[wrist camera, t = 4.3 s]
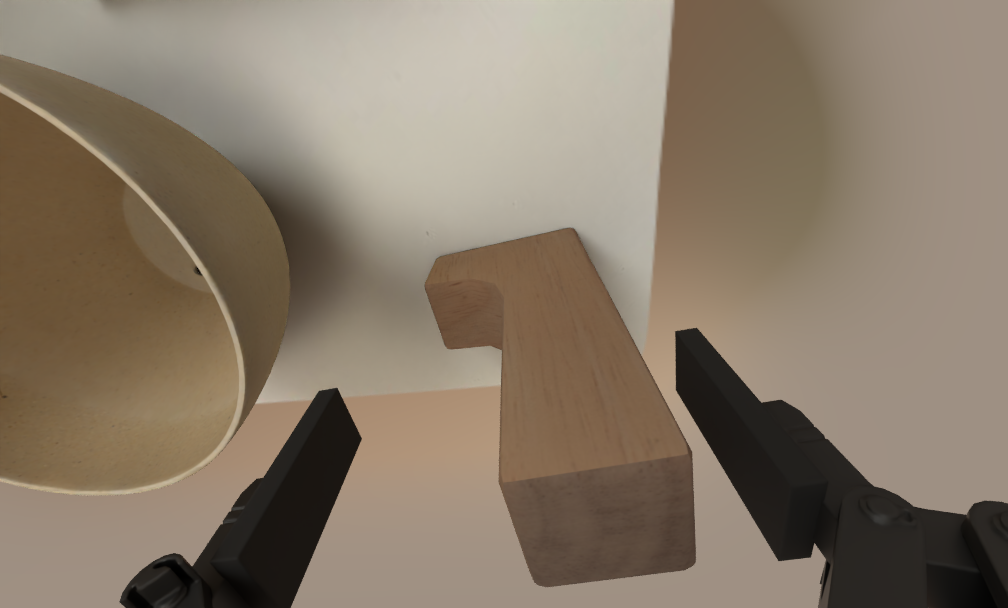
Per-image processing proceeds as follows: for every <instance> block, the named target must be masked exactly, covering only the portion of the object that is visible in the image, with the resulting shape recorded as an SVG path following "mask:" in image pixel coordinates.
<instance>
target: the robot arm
mask: <svg viewBox="0 0 1008 608" xmlns="http://www.w3.org/2000/svg"><path fill="white" fill-rule="evenodd" d="M675 337H676V391H677V393H678V394H679V396H680V398H681V399H682V401H683V403H684V404H685V406H686V407H687V409H688V411H689V413H690V414H691V416H692V418H693V419H694V421H695V423H696V424H697V426H698V427H699V429H700V431H701V433H702V434H703V436H704V438H705V439H706V441H707V443H708V444H709V446H710V447H711V449H712V451H713V453H714V454H715V456H716V458H717V459H718V461H719V463H720V464H721V466H722V467H723V469H724V471H725V473H726V474H727V476H728V478H729V479H730V481H731V483H732V484H733V486H734V488H735V489H736V491H737V492H738V494H739V496H740V498H741V499H742V501H743V502H744V504H745V506H746V507H747V509H748V511H749V512H750V514H751V516H752V518H753V519H754V521H755V523H756V524H757V526H758V528H759V529H760V531H761V533H762V534H763V536H764V538H765V539H766V541H767V543H768V544H769V546H770V548H771V549H772V551H773V553H774V554H775V556H776V558H777V559H778V561H784V560H792V559H801V558H809V557H811V555H812V550H813V546H814V543H815V544H816V546H817V547H818V548H819V550H820V551H821V553H822V554H823V555H824V557H825V558H826V562H825V566H824V570H823V573H822V577H821V581H820V584H822V586H821V593H820V599H819V605H818V608H1008V504H1007V503H1004V502H996V501H982V502H979V503H975V504H973V506H972V507H971V509H970V510H969V512H968V513H967V515H963V514H956V513H949V512H942V511H935V510H928V509H922V508H917V507H913V506H912V505H911V504H910V503H908V502H907V501H906V500H904V499H902V498H901V497H900V496H898V495H896V494H894V493H892V492H890V491H887V490H885V489H882V488H878V487H874V486H873V485H872V484H870V483H869V482H868V481H867V480H866V479H865V478H864V476H863V475H862V474H861V473H860V472H859V471H858V470H857V469H856V468H855V467H854V466H853V465H852V464H851V463H850V462H849V461H848V460H847V459H846V458H845V457H844V456H843V455H842V454H841V453H840V452H839V451H838V450H837V449H836V447H835V446H834V445H833V444H832V443H831V442H830V441H829V440H828V439H825V437H824V435H823V434H822V433H821V432H820V431H819V430H818V429H817V428H816V427H814V426H813V424H812V423H811V422H810V420H809V419H808V418H807V417H805V415H804V414H803V413H802V412H801V411H800V410H798V409H796V408H795V407H793V406H791V405H789V404H788V403H786V402H784V401H783V400H776V401H770V402H763V403H761V402H760V401H759V400H758V398H757V397H756V396H755V395H754V394H753V393H752V391H751V390H750V389H749V388H748V387H747V386H746V384H745V383H744V382H743V381H742V380H741V379H740V377H739V376H738V375H737V374H736V373H735V372H734V371H733V369H732V368H731V367H730V366H729V365H728V364H727V362H726V361H725V360H724V359H723V358H722V357H721V355H720V354H719V353H718V352H717V351H716V350H715V349H714V347H713V346H712V345H711V344H710V343H709V342H708V340H707V339H706V338H705V337H704V336H703V335H702V333H701V332H700V331H699V330H698V329H697V328H693V329H687V330H681V331H676V332H675ZM361 439H362V438H361V436H360V434H359V432H358V430H357V428H356V426H355V424H354V422H353V420H352V417H351V415H350V413H349V411H348V409H347V407H346V405H345V403H344V401H343V399H342V397H341V395H340V393H339V391H338V388H334V389H328V390H322V391H319V392H318V393H317V395H316V396H315V398H314V399H313V401H312V403H311V404H310V406H309V407H308V409H307V410H306V412H305V414H304V415H303V417H302V418H301V420H300V421H299V423H298V424H297V426H296V428H295V429H294V431H293V432H292V434H291V436H290V437H289V439H288V440H287V442H286V443H285V445H284V446H283V448H282V450H281V451H280V453H279V455H278V456H277V457H276V459H275V460H274V462H273V464H272V465H271V467H270V468H269V470H268V471H267V473H266V475H265V476H264V478H260V479H256V480H255V481H254V482H253V483H252V484H251V485H250V486H249V487H248V488H247V489H246V490H245V491H243V492H242V494H241V495H240V497H239V498H238V499H237V501H236V502H235V504H234V505H233V507H232V510H231V512H229V513H228V515H227V516H226V518H225V519H224V520H223V524H221V525H220V526H219V528H218V529H217V531H216V532H215V534H214V535H213V537H212V538H211V540H210V541H209V543H208V544H207V546H206V547H205V549H204V550H203V552H202V553H201V555H200V556H199V558H198V559H197V561H196V562H195V564H194V565H193V567H192V566H191V565H190V564H189V563H188V562H187V561H186V560H185V559H184V558H183V556H181V555H180V554H175V553H173V554H169V555H165V556H163V557H161V558H159V559H157V560H155V561H153V562H152V563H151V564H149V565H148V566H146V567H145V568H144V569H142V570H141V571H140V572H139V573H138V574H137V575H136V576H135V577H134V578H133V579H132V580H131V581H130V583H129V584H128V585H127V587H126V588H125V590H124V591H123V593H122V596H121V599H120V603H121V604H122V605H123V606H125V607H126V608H291V605H292V603H293V601H294V598H295V596H296V594H297V591H298V589H299V586H300V584H301V582H302V579H303V577H304V575H305V572H306V570H307V567H308V565H309V563H310V560H311V558H312V556H313V553H314V551H315V549H316V546H317V544H318V541H319V539H320V537H321V534H322V532H323V529H324V527H325V525H326V522H327V520H328V518H329V515H330V513H331V510H332V508H333V506H334V504H335V501H336V499H337V496H338V494H339V492H340V489H341V486H342V485H343V482H344V480H345V477H346V475H347V473H348V470H349V468H350V465H351V463H352V461H353V458H354V456H355V454H356V451H357V449H358V446H359V444H360V442H361Z"/></svg>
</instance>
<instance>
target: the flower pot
mask: <svg viewBox="0 0 1008 608" xmlns="http://www.w3.org/2000/svg"><path fill="white" fill-rule="evenodd" d="M197 267H198V269H199V270H200V272H201V273H202V274H200V273H199V272H198V271H197ZM289 299H290V272H289V263H288V258H287V253H286V249H285V245H284V242H283V239H282V236H281V233H280V230H279V228H278V225H277V223H276V221H275V218H274V217H273V215H272V213H271V211H270V209H269V208H268V206H267V204H266V202H265V201H264V200H263V198H262V197H261V195H260V194H259V193H258V191H257V190H256V189H255V188H254V186H253V185H252V184H251V183H250V182H249V181H248V179H247V178H246V177H245V176H244V175H243V174H242V173H241V172H240V171H239V170H238V169H237V168H236V167H235V166H234V165H233V164H232V163H231V162H230V161H228V160H227V159H226V158H225V157H224V156H222V155H221V154H220V153H219V152H218V151H216V150H215V149H214V148H212V147H211V146H210V145H208V144H207V143H205V142H204V141H203V140H201V139H200V138H198V137H197V136H195V135H194V134H192V133H191V132H189V131H188V130H186V129H184V128H183V127H181V126H179V125H178V124H176V123H174V122H173V121H171V120H169V119H167V118H165V117H164V116H162V115H160V114H158V113H156V112H154V111H152V110H150V109H148V108H146V107H144V106H142V105H140V104H138V103H136V102H133V101H131V100H129V99H127V98H125V97H122V96H120V95H117V94H115V93H113V92H110V91H108V90H105V89H103V88H100V87H98V86H95V85H93V84H90V83H87V82H85V81H82V80H79V79H76V78H74V77H71V76H68V75H65V74H62V73H59V72H57V71H54V70H51V69H48V68H44V67H41V66H38V65H34V64H31V63H28V62H24V61H21V60H18V59H14V58H11V57H7V56H3V55H0V481H1V482H5V483H9V484H13V485H17V486H21V487H25V488H31V489H36V490H41V491H48V492H55V493H63V494H73V495H99V496H102V495H122V494H131V493H139V492H144V491H149V490H154V489H158V488H162V487H165V486H168V485H171V484H174V483H176V482H179V481H181V480H183V479H185V478H187V477H189V476H191V475H193V474H195V473H197V472H198V471H200V470H201V469H203V468H204V467H205V466H207V465H208V464H209V463H210V462H212V461H213V460H214V459H215V458H216V457H217V456H218V455H219V454H220V453H221V452H222V451H223V449H224V448H225V447H226V445H227V444H228V443H229V442H230V440H231V439H232V438H233V436H234V435H235V434H236V432H237V431H238V429H239V428H240V427H241V425H242V424H243V422H244V421H245V419H246V417H247V416H248V414H249V413H250V411H251V409H252V407H253V406H254V404H255V402H256V400H257V399H258V397H259V395H260V393H261V391H262V389H263V387H264V385H265V383H266V381H267V379H268V376H269V374H270V372H271V370H272V367H273V365H274V362H275V360H276V357H277V354H278V352H279V348H280V345H281V342H282V338H283V335H284V331H285V326H286V321H287V316H288V309H289Z"/></svg>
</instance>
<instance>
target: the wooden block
mask: <svg viewBox="0 0 1008 608" xmlns="http://www.w3.org/2000/svg"><path fill="white" fill-rule="evenodd" d="M425 290H426V293H427V296H428V299H429V301H430V304H431V307H432V310H433V313H434V316H435V319H436V321H437V324H438V327H439V330H440V333H441V336H442V339H443V341H444V344H445V346H446V347H447V349H460V348H471V347H481V346H492V347H495V348H498V349H500V350H502V372H501V411H500V451H499V485H500V487H501V490H502V493H503V496H504V499H505V502H506V504H507V507H508V511H509V513H510V516H511V519H512V522H513V525H514V528H515V531H516V534H517V537H518V539H519V542H520V545H521V548H522V551H523V554H524V557H525V560H526V563H527V565H528V568H529V571H530V573H531V576H532V578H533V580H534V582H535V583H536V584H537V585H539V586H544V587H552V586H561V585H569V584H577V583H585V582H592V581H601V580H609V579H617V578H625V577H633V576H640V575H641V576H642V575H649V574H657V573H665V572H674V571H681V570H686V569H688V568H689V567H692V566H693V565H694V564H695V562H696V547H695V519H694V491H693V463H692V451H691V449H690V447H689V445H688V443H687V442H686V439H685V438H684V436H683V434H682V432H681V430H680V428H679V426H678V424H677V422H676V421H675V419H674V417H673V415H672V413H671V411H670V409H669V407H668V405H667V403H666V402H665V400H664V398H663V396H662V394H661V392H660V390H659V388H658V386H657V384H656V383H655V381H654V379H653V377H652V375H651V373H650V371H649V369H648V367H647V365H646V364H645V362H644V360H643V358H642V356H641V354H640V352H639V350H638V348H637V347H636V345H635V343H634V341H633V339H632V337H631V335H630V333H629V331H628V329H627V328H626V326H625V324H624V322H623V320H622V318H621V316H620V314H619V312H618V310H617V309H616V307H615V305H614V303H613V301H612V299H611V297H610V295H609V293H608V291H607V290H606V288H605V286H604V284H603V282H602V280H601V278H600V277H599V275H598V273H597V271H596V269H595V267H594V265H593V263H592V262H591V260H590V258H589V256H588V254H587V252H586V250H585V248H584V246H583V244H582V242H581V240H580V238H579V237H578V235H577V233H576V231H575V230H574V229H573V228H566V229H562V230H557V231H553V232H548V233H544V234H539V235H535V236H530V237H526V238H521V239H517V240H512V241H508V242H503V243H499V244H494V245H490V246H485V247H481V248H477V249H472V250H468V251H463V252H459V253H454V254H450V255H445V256H441V257H439V258H437V259H436V261H435V263H434V265H433V267H432V269H431V271H430V274H429V276H428V278H427V280H426V282H425Z"/></svg>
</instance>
